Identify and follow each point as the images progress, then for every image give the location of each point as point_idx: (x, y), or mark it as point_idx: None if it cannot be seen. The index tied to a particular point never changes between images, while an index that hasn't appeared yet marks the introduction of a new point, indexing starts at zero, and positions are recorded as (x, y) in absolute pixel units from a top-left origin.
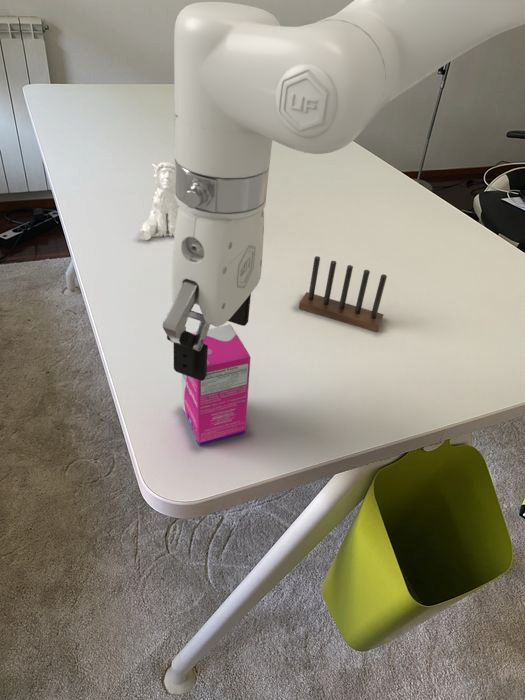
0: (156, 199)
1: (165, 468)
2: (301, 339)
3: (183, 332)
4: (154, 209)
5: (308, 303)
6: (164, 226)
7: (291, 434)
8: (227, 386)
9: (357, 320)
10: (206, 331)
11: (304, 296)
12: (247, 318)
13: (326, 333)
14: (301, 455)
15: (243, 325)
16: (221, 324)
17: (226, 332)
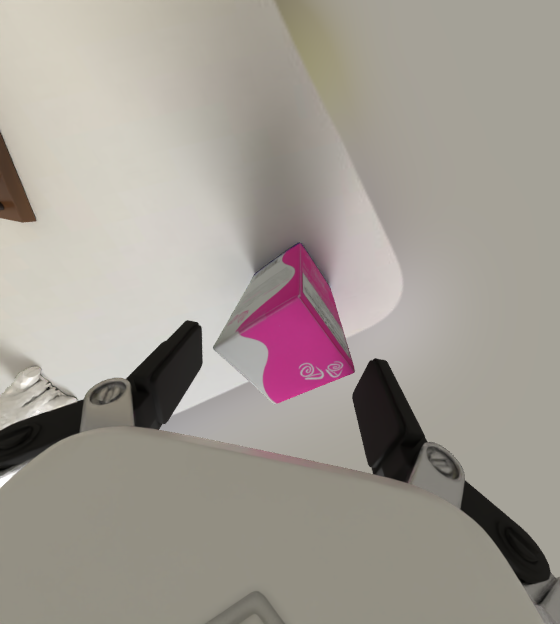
0: None
1: (364, 310)
2: (94, 202)
3: (553, 598)
4: (29, 416)
5: (12, 207)
6: (43, 396)
7: (284, 176)
8: (321, 301)
9: None
10: (425, 486)
11: (3, 217)
12: (185, 328)
13: (51, 161)
14: (320, 150)
15: (200, 326)
16: (471, 520)
17: (240, 351)
